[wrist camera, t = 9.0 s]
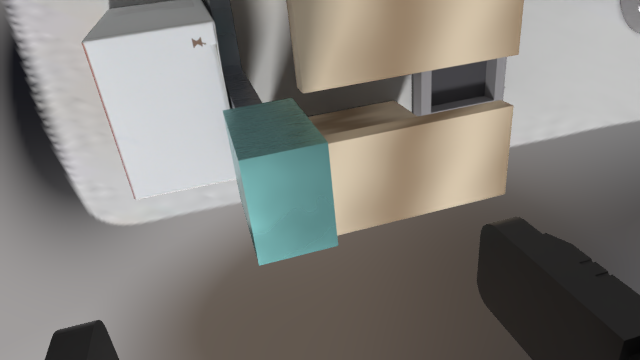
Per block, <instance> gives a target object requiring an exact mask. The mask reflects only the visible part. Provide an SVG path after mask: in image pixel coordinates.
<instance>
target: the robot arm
mask: <svg viewBox="0 0 640 360" xmlns="http://www.w3.org/2000/svg"><path fill="white" fill-rule="evenodd" d="M621 10H622V13H623V17H624V19H625V21H626V22H627V24H628V26H629V27H630V28H631V29H633V30H634V31H635V32H637V33H639V34H640V0H621ZM478 260H479V261H478V272H477V285H478V289H479V293H480V295H481V298H482V300H483V302H484V303H485V305H486V306H487V308H488V309H489V310H490V311H491V312H492V313H493V315H494V316H495V317H496V318H497V319H498V320H499V321H500V323H501V324H502V325H503V326H504V327H505V329H506V330H507V331H508V332H509V333H510V334H511V335H512V337H513V338H514V339H515V340H516V341H517V342H518V344H519V345H520V346H521V347H522V348H523V349H524V351H525V352H526V353H527V354H528V355H529V356H530V357H531V359H532V360H640V295H639V294H637V293H636V292H635V291H633V290H632V289H631V288H629V287H628V286H627V285H625V284H624V283H623V282H621V281H620V280H619V279H618V278H616V277H615V276H613V275H609V274H608V271H607V270H606V269H604V268H603V267H602V266H600V265H599V264H598V263H596V262H592V260H591V258H590V257H588V256H587V255H585V254H584V253H583V252H582V251H580V250H579V249H578V248H576V247H575V246H574V245H572V244H571V243H568V242H566V241H564V240H561V239H559V238H557V237H554V236H552V235H549V234H547V233H545V234H542V233H540V232H539V231H538V230H537V229H535V228H534V227H533V226H531V225H530V224H529V223H528V222H526V221H525V220H524V219H522V218H520V217H513V218H509V219H505V220H502V221H497V222H493V223H489V224H486V225H484V226H483V228H482V230H481V235H480V247H479V259H478ZM45 360H119V358H118V356H117V353H116V351H115V348H114V346H113V344H112V341H111V339H110V336H109V334H108V332H107V329H106V327H105V325H104V324H103V322H102V321H100V320H96V321H92V322H88V323H84V324H80V325H76V326H72V327H68V328H64V329H60V330H57V331H56V332H55V333H54V334H53V336H52V339H51V342H50V345H49V348H48V352H47V355H46V358H45Z"/></svg>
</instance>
